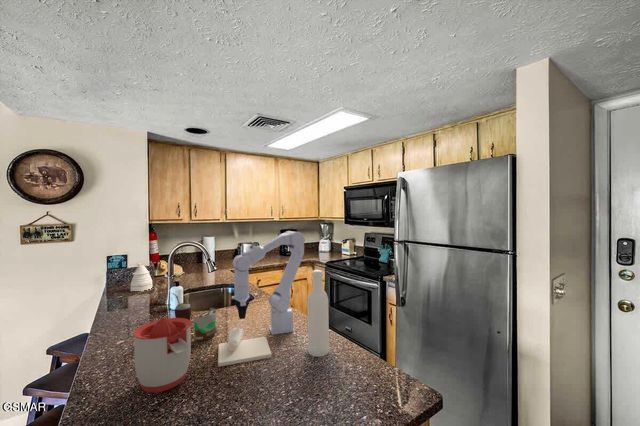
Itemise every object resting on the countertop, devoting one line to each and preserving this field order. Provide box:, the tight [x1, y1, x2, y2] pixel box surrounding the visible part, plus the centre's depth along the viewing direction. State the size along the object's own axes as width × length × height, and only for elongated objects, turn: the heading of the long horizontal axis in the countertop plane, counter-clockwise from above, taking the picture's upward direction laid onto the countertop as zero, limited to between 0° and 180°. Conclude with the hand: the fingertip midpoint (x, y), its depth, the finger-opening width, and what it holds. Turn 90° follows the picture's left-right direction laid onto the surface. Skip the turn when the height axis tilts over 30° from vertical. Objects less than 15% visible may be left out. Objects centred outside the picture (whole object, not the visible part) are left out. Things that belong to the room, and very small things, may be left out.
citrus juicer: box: [132, 316, 192, 394], centre depth 86 cm, size 16×17×20 cm
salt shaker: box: [227, 327, 244, 351], centre depth 107 cm, size 5×5×11 cm
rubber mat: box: [217, 336, 273, 368], centre depth 105 cm, size 18×15×1 cm
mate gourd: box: [171, 292, 192, 321], centre depth 136 cm, size 8×8×15 cm
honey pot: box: [130, 262, 153, 292], centre depth 195 cm, size 13×13×18 cm
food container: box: [192, 307, 218, 342], centre depth 118 cm, size 12×6×10 cm, turn 169°
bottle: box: [306, 269, 330, 358], centre depth 104 cm, size 8×8×30 cm
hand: (242, 318), depth 115 cm, fingers closed
